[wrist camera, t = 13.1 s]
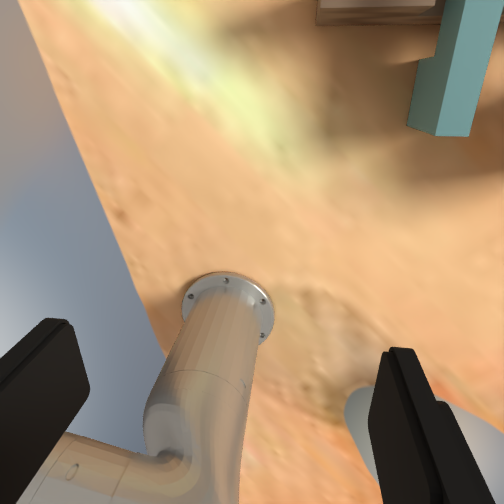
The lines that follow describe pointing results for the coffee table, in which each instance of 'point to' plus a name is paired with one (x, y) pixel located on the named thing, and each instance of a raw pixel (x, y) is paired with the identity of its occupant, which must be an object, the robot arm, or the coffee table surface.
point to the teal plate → (455, 68)
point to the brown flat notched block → (380, 12)
